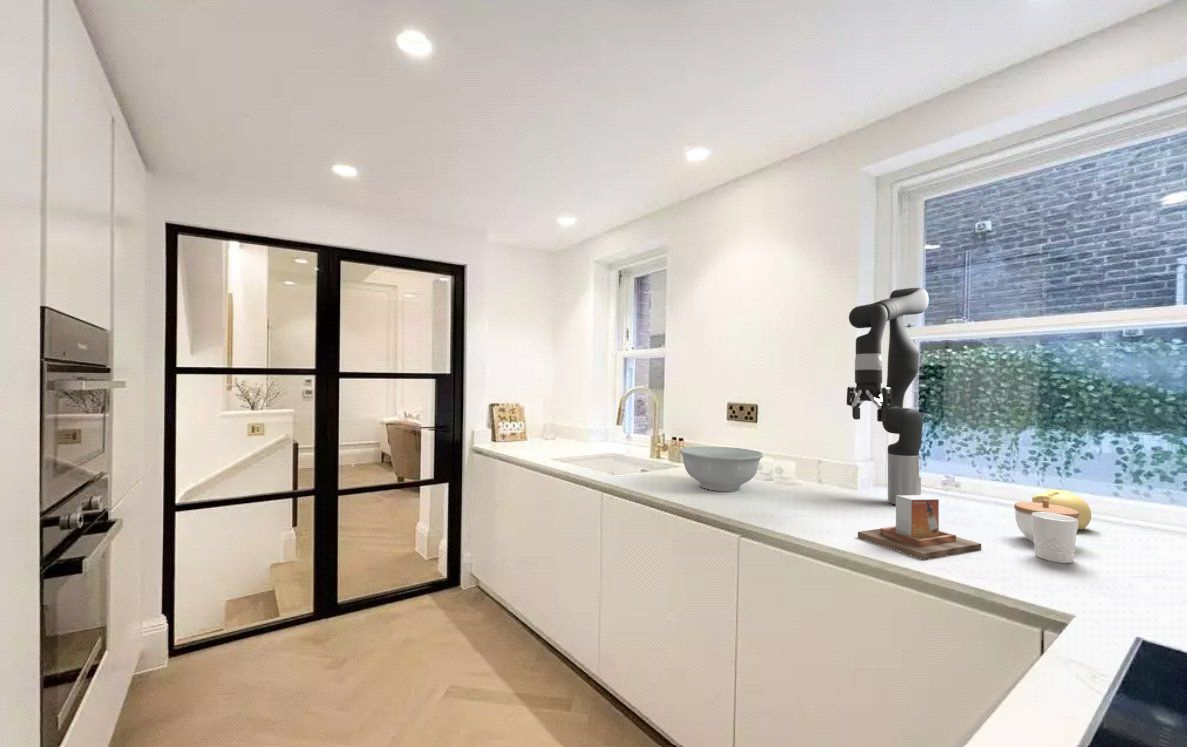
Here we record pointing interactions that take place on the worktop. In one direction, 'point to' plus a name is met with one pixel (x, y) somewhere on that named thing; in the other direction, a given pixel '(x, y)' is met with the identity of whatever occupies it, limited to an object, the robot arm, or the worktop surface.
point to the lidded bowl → (1027, 508)
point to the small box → (917, 516)
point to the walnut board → (920, 543)
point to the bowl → (721, 466)
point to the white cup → (1054, 536)
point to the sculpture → (1067, 504)
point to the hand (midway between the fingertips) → (868, 420)
